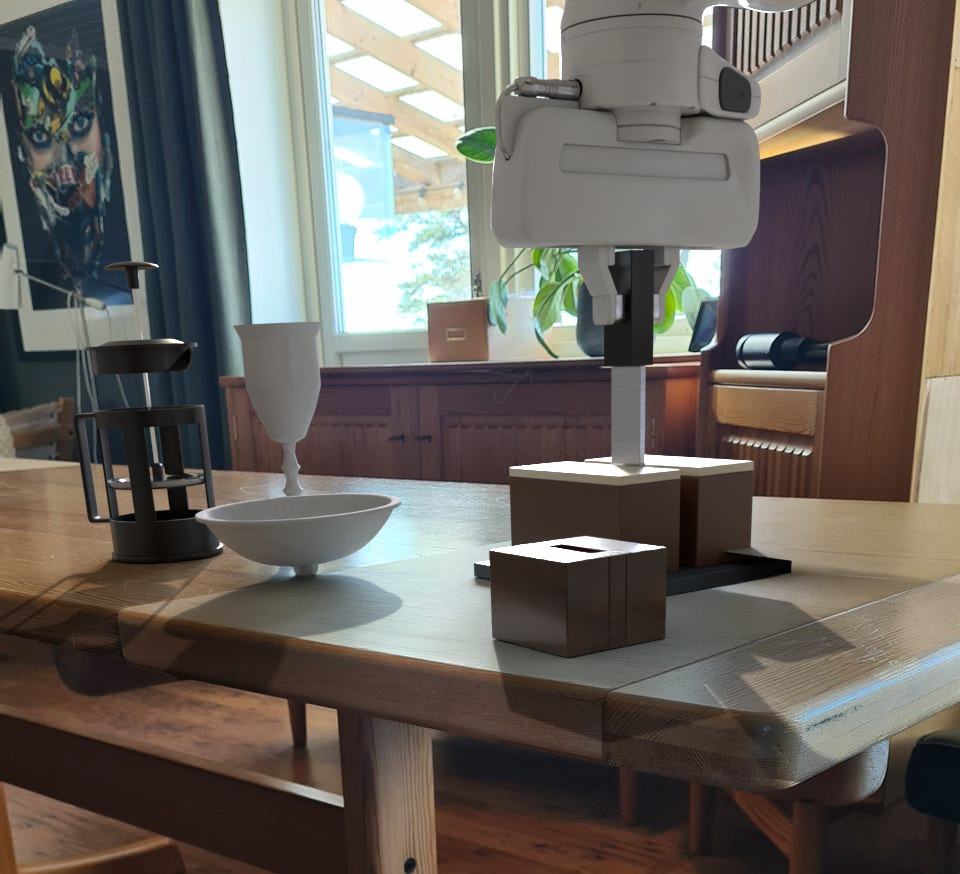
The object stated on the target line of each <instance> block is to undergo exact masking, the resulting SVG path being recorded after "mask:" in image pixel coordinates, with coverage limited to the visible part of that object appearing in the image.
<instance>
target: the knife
mask: <svg viewBox="0 0 960 874" xmlns="http://www.w3.org/2000/svg"><path fill="white" fill-rule="evenodd" d="M608 268H609V271H610V274H611V277H612V280H613V282H614V285H615V288H616V291H617V294H616V295H626V308H625V311H626V320H625V322H624V323H623V324H613V325H603V366H604V367H607V368H608V367H609V368H610V367H611V369H610V370H611V372H610V373H611V374H610V375H611V377H610V378H611V379H610V381H611V385H610V386H611V388H610V389H611V390H610V391H611V392H610V393H611V397H610V398H611V399H610V401H611V408H610V409H611V411H610V412H611V413H610V415H611V419H610V420H611V424H610V425H611V426H610V427H611V428H610V430H611V437H610V438H611V440H610V441H611V442H610V443H611V444H610V445H611V446H610V447H611V451H610V452H611V453H610V454H611V456H610V457H611V465H622V466H636V467H645V455H646V385H647V384H646V377H647V376H646V375H647V374H646V373H647V371H646V369H647V366H653V365H654V324H655V323H654V250H643V249H626V250H620V251H615V264H614V265H611V266H608Z"/></svg>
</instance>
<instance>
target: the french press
mask: <svg viewBox="0 0 960 874" xmlns="http://www.w3.org/2000/svg"><path fill="white" fill-rule="evenodd" d="M103 269H104V271H105V270H106V271H125V277H126V282H127V288H128V290H131V293H132V299H133V307H134V308H133V309H134V315H135V323H136V329H137V331H136V332H137V338H138V339H131V340H129V339H128V340H113V341H112V340H111V341H107V342H104V343H102V344H99V345H97V346H85V347H84V351H85V352H90V356H91V361H92V369H93V376H105V375H109V376H110V375H131V374H132V375H133V374H142V377H143V384H144V392H145V393H144V394H145V401H146V406H138V407H137V406H136V407H135V406H134V407H119V408H108V409H107V408H106V409H98V410H93V412H83V413H75V414H74V415H73V416H72V421H73V428H74V435H75V440H76V442H75V443H76V449H77V454H78V462H79V468H80V476H81V482H82V488H83V495H84V501H85V508H86V515H87V520H88V522H89V523H90V524H109V528H110V534H111V541H112V548H113V551H112V552H111V559H112V561H114V562H119V563H124V564H125V563H126V564H164V563H165V564H166V563H176V562H177V563H178V562H186V561H194V560H199V559H200V560H201V559H205V558H210V557H214V556H217V555H219V554H222V553H223V552H224V544H223V543H221V541H220V540H219V539H218V538H217V537H216V536H215V535H214V534H213V533H212V532H211V530H210V529H209V528H208V527H207V525H206V524H203V523H200V522H198V521H196V519H195V515H196V514H197V513H199V512H201V511H203V510H206V509H209V508H213V507H217V505H216V499H215V491H214V481H213V480H214V479H213V474H212V462H211V455H210V447H209V435H208V429H207V418H206V410H205V405H204V404H182V405H180V404H178V405H155V406H153V405H152V400H151V392H150V391H151V390H150V385H149V384H150V383H149V375H148V374H150V373H151V374H152V373H164V372H166V373H167V372H185V371H187V370H189V369H190V367H191V365H192V363H193V357H194V356H193V355H194V353H193V348H197V347H198V342H183V341H180V340H177V339H174V338H157V339H155V338H153V339H144V338H143V336H144V335H143V329H142V321H141V314H140V313H141V312H140V306H139V299H138V291H137V290H140V289H141V286H140V284H141V283H140V274H139V273H140V271H146V270H156V269H159V265H158V264H155V263H153V262H148V261H119V262H115V263H110V264H108V265H106V266H104V268H103ZM86 419H94V423H95V428H96V430H97V438H98V445H99V452H100V458H101V465H102V471H103V472H102V473H103V479H104V486H105V493H106V498H107V499H106V501H107V506H108V515H109V516H100V515H99V510H98V504H97V503H98V502H97V497H96V489H95V484H94V483H95V481H94V476H93V469H92V462H91V455H90V449H89V443H88V442H89V441H88V435H87V428H86V421H85V420H86ZM196 424H197V429H198V437H199V446H200V454H201V464H202V471H203V472H185V465H184V457H183V456H184V455H183V448H182V440H181V439H182V438H181V432H180V426H185V425H187V426H188V425H196ZM146 428H149V432H150V439H151V446H152V455H153V463H152V464H151V469H150V460H149V453H148V446H147V439H146V431H145V429H146ZM155 428H158V430H159V437H160V444H161V453H162V462H163V464H162V463H161V462H159V454H158V446H157V439H156V432H155V431H156V430H155ZM108 429H122V433H123V439H124V447H125V448H124V449H125V453H126V462H127V468H128V475H127V476H121V477H116V478H115V476H114V468H113V462H112V454H111V448H110V440H109V433H108ZM202 485H204V490H205V498H206V499H205V500H206V507H207V508H190V507H189V506H190V505H189V499H188V498H189V497H188V489H187V488H188V487H196V486H202ZM153 490H166V493H167V500H168V501H167V502H168V509H158V510H157V509H156V508H155V506H156V505H155V500H154V499H155V498H154V492H153ZM117 491H131V499H132V506H133V507H132V508H133V512H129V513H123V514H120V512H119V505H118V497H117Z"/></svg>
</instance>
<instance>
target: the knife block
mask: <svg viewBox="0 0 960 874" xmlns="http://www.w3.org/2000/svg"><path fill="white" fill-rule="evenodd" d="M488 561H489V563H490V579H489V585H490V587H489V589H490V613H491V615H490V617H491V637H492V639H495V640H499V641H502V642H506V643H510V644H514V645H518V646H521V647H525V648H530V649H533V650H537V651H540V652H545V653H549V654H553V655H555V656H560V657H563V658H572V657H579V656H583V655H588V654H592V653H598V652H601V651H602V652H603V651H606V650H613V649H616V648H623V647H628V646H632V645H638V644H644V643H648V642H652V641H657V640H663V639H666V636H667V635H666V634H667V633H666V632H667V631H666V630H667V596H666V569H667V548H666V547H661V546H654V545H646V544H639V543H632V542H625V541H618V540H610V539H603V538H596V537H589V536H582V537H575V538H568V539H561V540H554V541H548V542H541V543H534V544H527V545H520V546H513V547H511V546H507V547H500V548H492V549H489V550H488ZM662 638H663V639H662Z"/></svg>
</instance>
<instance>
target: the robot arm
mask: <svg viewBox="0 0 960 874" xmlns="http://www.w3.org/2000/svg"><path fill="white" fill-rule="evenodd" d="M817 1H818V0H564V7H563V12H562V16H561V19H560V25H559V73H560V74H559V75H560V77H559V78H549V79H548V78H547V79H542V78H538V77H535V76H533V75H532V76H531V75H524V76H523V75H521V76H517V77H515V79H514V81H513V83H511V84H509V85H507V86H506V87H505V88H504V89H502V91H501V93H500V95H499V97H498V98H497V100H496V102H495V107H494V123H495V125H494V127H495V140H496V141H495V142H496V144H495V151H494V157H493V167H492V177H491V178H492V179H491V194H490V195H491V197H490V228H491V229H490V230H491V232H492V233H493V235H494V236H495V239H496V241H497V242H498V244H499V245H500V246H501V247H502V248H503V249H571V250H572V249H573V250H574V249H576V250H577V269H578V271H579V274H580V276H581V279H582V280H583V282H584V284H585V286H586V288H587V290H588V293H589V295H590V296H591V297H592V321H593V324H594V325H595V326H604V325H613V324H623V323H624V322H625V320H626V311H625V308H626V295H616V294H617V291H616V288H615V285H614V282H613V280H612V277H611V274H610V271H609V268H608V266H611V265H614V264H615V252H616V250H654V324H662V323H663V322H664V321H665V317H666V295H667V294H668V292H669V290H670V288H671V286H672V283H673V281H674V279H675V277H676V275H677V272H678V270H679V268H680V265H681V264H680V263H681V262H680V259H681V255H680V254H681V251H721V250H732V249H733V250H734V249H738V248H745V247H747V246H748V245H749V243H750V242H751V241H752V238H753V236H754V235H755V233H756V231H757V229H758V224H759V218H760V200H761V199H760V198H761V153H760V152H761V151H760V144H759V140H758V136H757V133H756V131H755V130H754V128H753V127H752V125H750V124H749V123H748V122H746V121H748V120H752V119H755V118H756V117H758V116H759V113H760V110H761V103H762V91H761V86H760V84H759V82H757V80H756V79H754V78H753V77H751V76H750V75H748V74H746V73H745V72H744V71H742V70H740V69H739V68H737V67H735V65H733V64H731V63H730V62H728V61H727V60H726V59H724V58H723V57H722V56H721V55H719V54H718V53H717V52H716V51H714V49H712V48H711V47H709V46H708V45H705V44H703V39H704V38H703V37H704V32H703V30H704V14H705V12H706V11H707V10H708V9H709V8H711V7H721V8H728V9H735V10H744V11H745V10H746V11H756V12H760V13H761V12H762V13H784V12H789V11H794V10H798V9H799V10H800V9H802V8H805V7H806V6H810V5H811V4H813V3H815V2H817ZM512 93H513V94H514V95H511V94H512Z"/></svg>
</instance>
